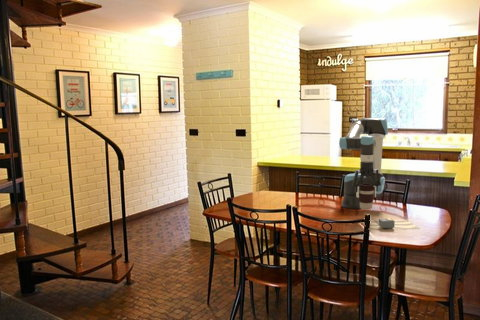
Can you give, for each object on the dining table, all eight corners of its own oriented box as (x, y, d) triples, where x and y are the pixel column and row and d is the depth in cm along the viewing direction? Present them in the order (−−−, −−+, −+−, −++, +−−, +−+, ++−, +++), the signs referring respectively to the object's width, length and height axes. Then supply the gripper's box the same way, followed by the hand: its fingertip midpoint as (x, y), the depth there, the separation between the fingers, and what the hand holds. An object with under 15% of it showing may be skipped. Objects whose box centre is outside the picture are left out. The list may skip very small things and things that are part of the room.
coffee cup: (367, 211, 241) (368, 187, 239) (354, 208, 249) (354, 184, 247) (377, 208, 247) (378, 184, 245) (364, 205, 255) (364, 182, 253)
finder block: (378, 226, 230) (378, 218, 229) (390, 226, 230) (391, 217, 229) (381, 229, 225) (382, 220, 224) (394, 229, 225) (394, 220, 224)
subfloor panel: (360, 223, 242) (360, 220, 242) (406, 222, 243) (406, 219, 242) (370, 232, 225) (370, 229, 224) (419, 231, 225) (419, 228, 225)
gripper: (350, 162, 240) (349, 198, 243) (387, 161, 240) (386, 197, 243) (346, 160, 247) (346, 195, 251) (382, 159, 247) (382, 194, 251)
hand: (366, 196), depth 247 cm, fingers closed on coffee cup, 10 cm apart
